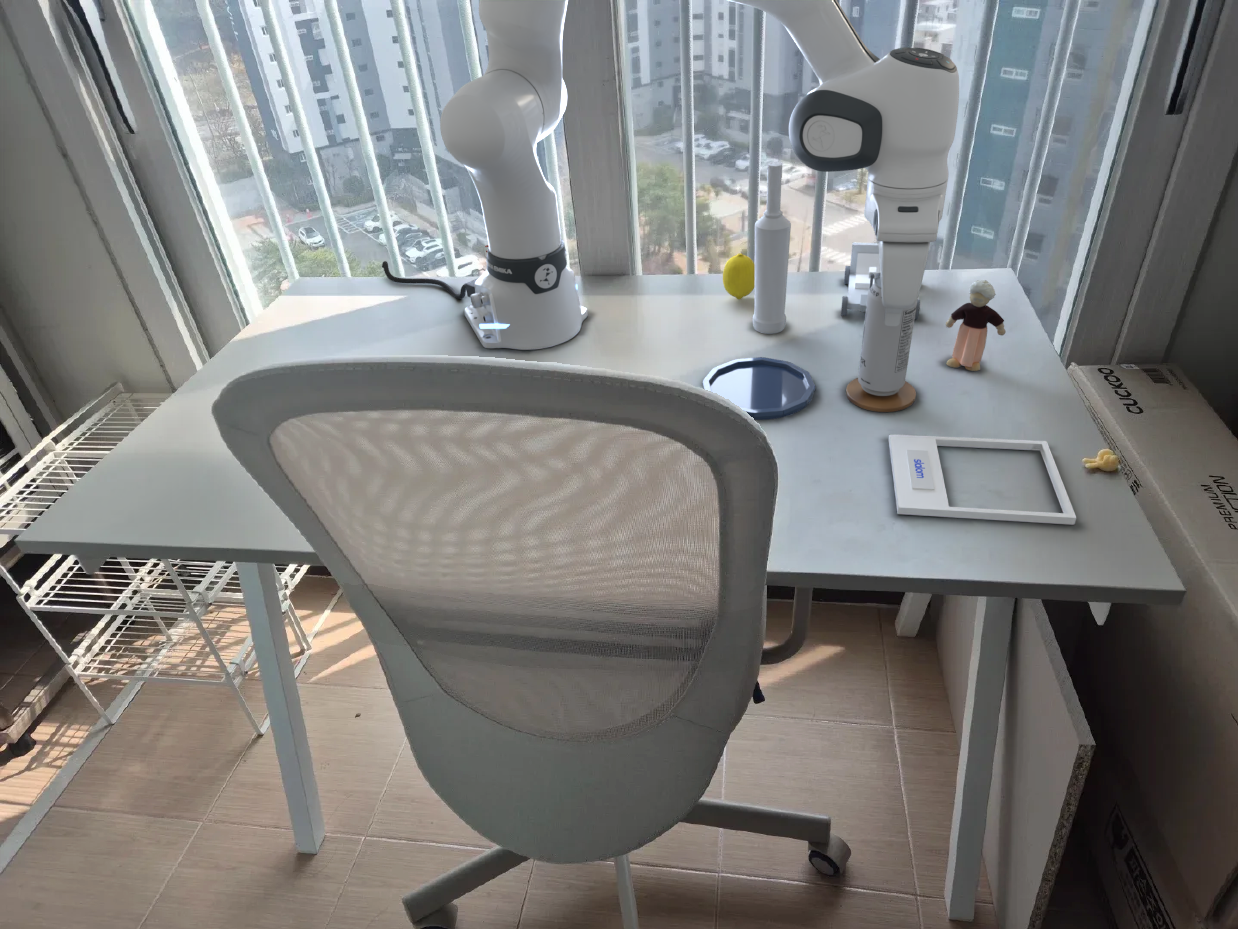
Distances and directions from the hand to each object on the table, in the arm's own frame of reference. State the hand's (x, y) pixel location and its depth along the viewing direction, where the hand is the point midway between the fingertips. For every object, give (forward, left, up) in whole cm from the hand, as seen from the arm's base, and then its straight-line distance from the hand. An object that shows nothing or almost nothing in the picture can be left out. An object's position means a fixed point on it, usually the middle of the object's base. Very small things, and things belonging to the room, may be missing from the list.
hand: (890, 310), depth 108 cm
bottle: (-25, +2, -12) cm, 28 cm away
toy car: (-20, +21, -12) cm, 32 cm away
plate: (-11, -12, -12) cm, 20 cm away
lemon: (-36, +5, -12) cm, 38 cm away
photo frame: (+20, -6, -12) cm, 24 cm away
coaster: (0, 0, -12) cm, 12 cm away
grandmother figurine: (+2, +15, -12) cm, 20 cm away
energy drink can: (0, 0, -11) cm, 11 cm away
